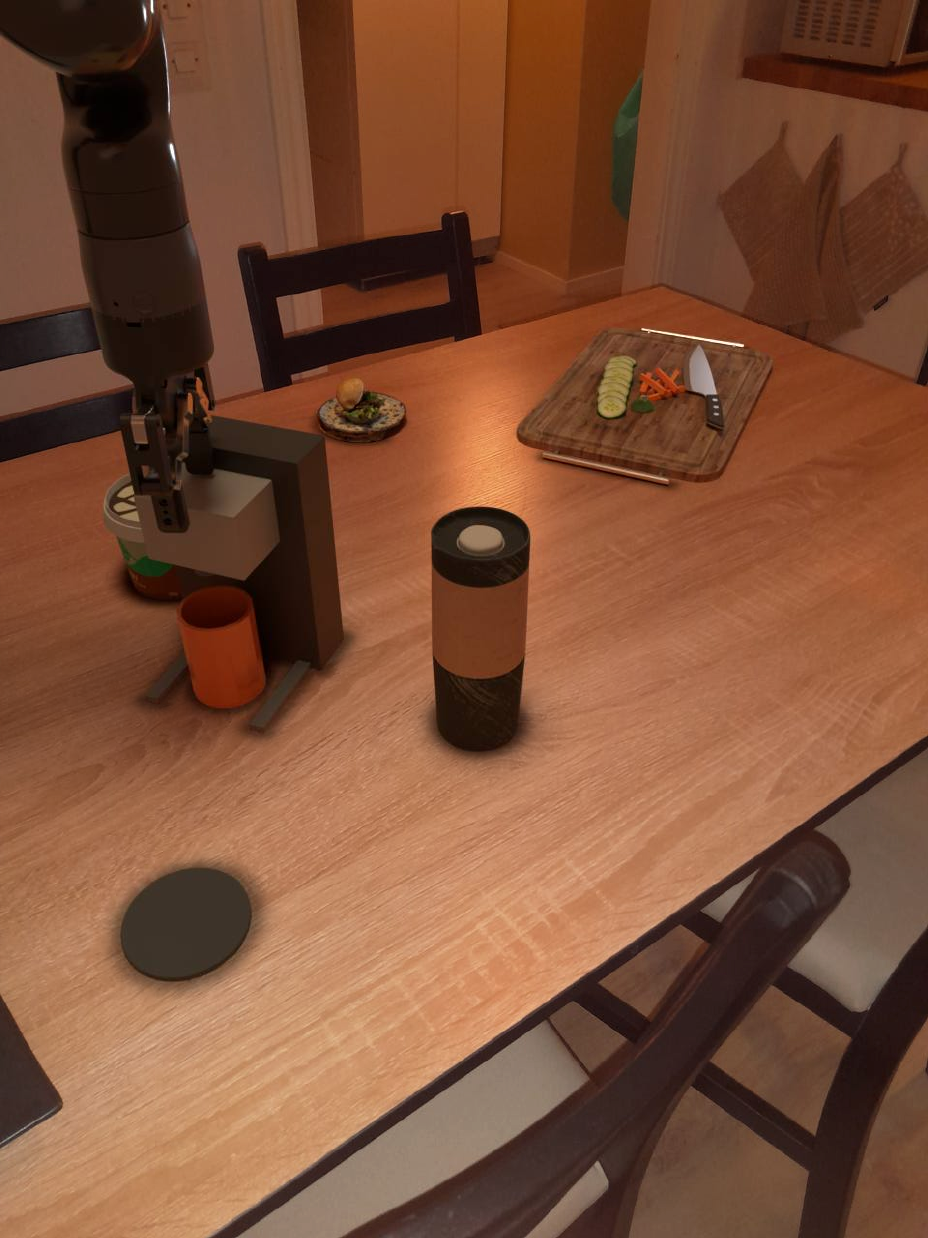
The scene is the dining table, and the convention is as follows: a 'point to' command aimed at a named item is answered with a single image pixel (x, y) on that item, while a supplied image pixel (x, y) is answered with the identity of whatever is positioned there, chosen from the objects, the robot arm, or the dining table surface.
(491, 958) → the dining table surface
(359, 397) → the plate of food
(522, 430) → the chopping board
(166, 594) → the food container
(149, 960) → the coaster
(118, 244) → the robot arm
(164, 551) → the coffee maker
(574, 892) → the dining table surface
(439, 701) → the travel mug
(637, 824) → the dining table surface
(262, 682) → the cup
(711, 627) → the dining table surface
